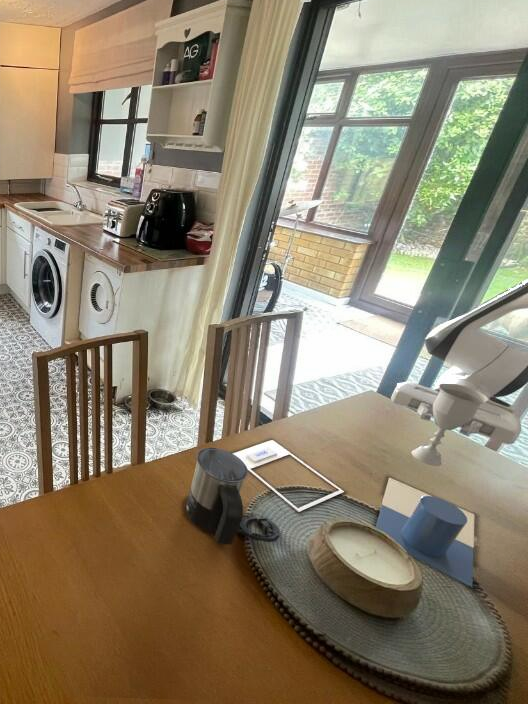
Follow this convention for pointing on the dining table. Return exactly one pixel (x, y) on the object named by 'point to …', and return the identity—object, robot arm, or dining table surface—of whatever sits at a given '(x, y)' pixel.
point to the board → (392, 523)
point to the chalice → (449, 416)
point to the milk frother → (223, 498)
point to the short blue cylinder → (433, 526)
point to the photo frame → (272, 452)
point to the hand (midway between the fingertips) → (445, 424)
